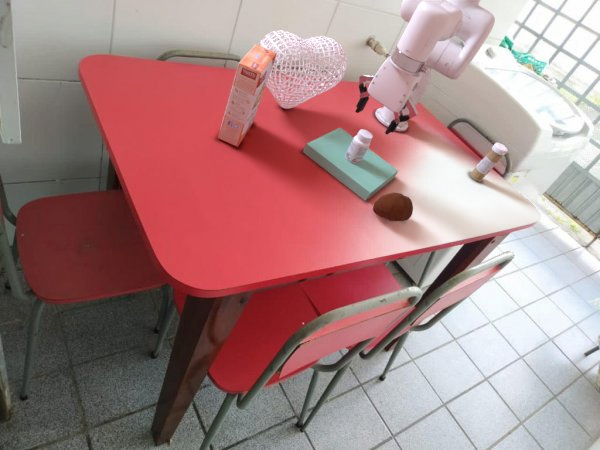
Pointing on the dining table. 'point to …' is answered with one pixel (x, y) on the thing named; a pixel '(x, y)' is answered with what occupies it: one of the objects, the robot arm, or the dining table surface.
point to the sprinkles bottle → (488, 161)
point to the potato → (393, 207)
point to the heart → (304, 44)
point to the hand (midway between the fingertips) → (373, 121)
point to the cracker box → (246, 94)
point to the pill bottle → (359, 146)
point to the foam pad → (350, 164)
